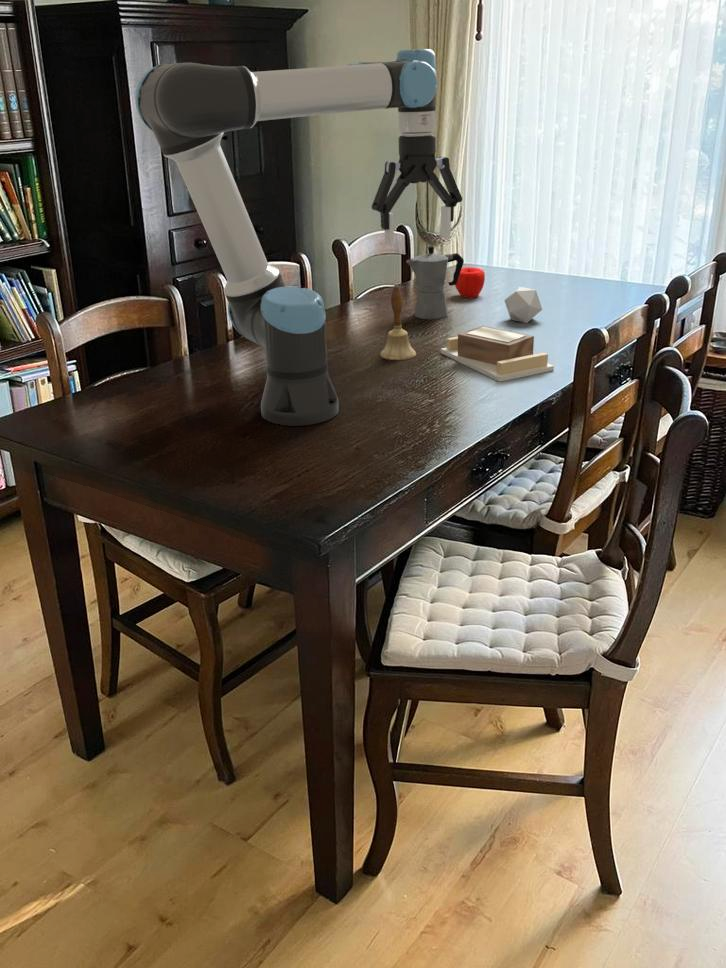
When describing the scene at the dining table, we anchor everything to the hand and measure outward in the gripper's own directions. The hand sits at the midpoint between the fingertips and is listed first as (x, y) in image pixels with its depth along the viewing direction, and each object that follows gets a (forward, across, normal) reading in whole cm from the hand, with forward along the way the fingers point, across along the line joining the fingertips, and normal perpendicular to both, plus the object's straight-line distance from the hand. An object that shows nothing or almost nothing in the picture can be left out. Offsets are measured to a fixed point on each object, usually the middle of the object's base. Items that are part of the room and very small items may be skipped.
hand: (417, 241), depth 190 cm
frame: (+26, +15, -8) cm, 31 cm away
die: (+27, +40, +17) cm, 51 cm away
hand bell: (+27, -1, +8) cm, 28 cm away
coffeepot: (+27, +24, +34) cm, 50 cm away
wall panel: (+27, +15, -8) cm, 32 cm away
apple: (+27, +42, +46) cm, 68 cm away
